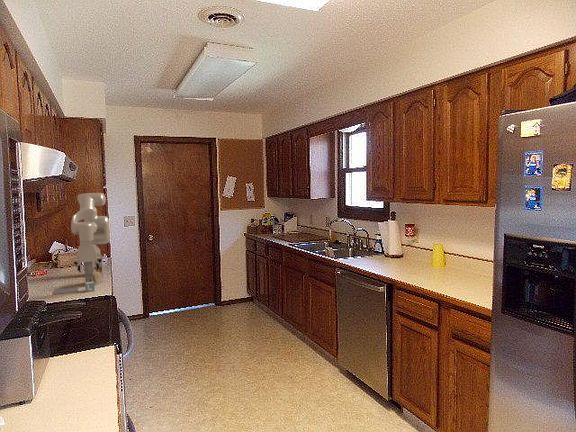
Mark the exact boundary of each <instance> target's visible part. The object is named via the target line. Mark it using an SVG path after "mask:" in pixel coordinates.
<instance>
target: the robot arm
mask: <svg viewBox="0 0 576 432" xmlns="http://www.w3.org/2000/svg"><path fill="white" fill-rule="evenodd" d="M106 201H107V199H106V194H104V193H103V192H88V193H87V192H86V193H80V194H78V195H77V202H78V204H79V210H78V211H77V212H75V213H74V214H73V216H72V218H71V225H70V229H71V230H70V231H71V232H72V234H73V235H79V238H78V239H79V245H78V248H77V249H78V250H77V251H78V252H77V256H75V257H73V258H71V261H72V262H73V264H74V265H76V266H77V271H78V273H81V264H82V263H84V262H92V261H95V262H96V263H97V264H96V266H97V270H98V269H99V263H100V262H102V261H103V259H104V255H102V254H101V249H100V248H99V246H97V245H103V244H104V245H105V244H109V243H110V242H111V230H110V228H111V227H110V221H109V217H108V216H106V215H98V210H97V208H96V207H95V206H104V205H105V204H106ZM97 258H100V260H99V261H98V260H97ZM76 260H78V262H77V261H76ZM102 275H105V271H103V270H102Z"/></svg>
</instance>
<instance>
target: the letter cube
mask: <svg viewBox="0 0 576 432" xmlns="http://www.w3.org/2000/svg"><path fill="white" fill-rule="evenodd" d="M84 287H85V289H84V290H85V291H84V292H85V293H90V292H94V291H95V289H96V288H95V285H94V281H93V282H84Z"/></svg>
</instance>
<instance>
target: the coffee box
mask: <svg viewBox="0 0 576 432" xmlns="http://www.w3.org/2000/svg"><path fill="white" fill-rule="evenodd" d="M97 260H98V261H99V260H100V258H97ZM96 264H97V263H96V262H95V261H92V262H83V269H84V281H85V282H93V281H94V286H95V285H98V284H101V283H103V282H104V277H103V275H104V274H103V275H102V271H103V265H102V261H101V262H100V263H99V269H98V270H97V266H96ZM85 282H84V283H85Z"/></svg>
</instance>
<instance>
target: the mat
mask: <svg viewBox="0 0 576 432" xmlns="http://www.w3.org/2000/svg"><path fill="white" fill-rule="evenodd" d="M77 292H79V286H78V285H77V286H70V287H63V288H55V289H54V290H53V294H52V295H53V296H57V295H61V294H62V295H63V294H71V293H77Z"/></svg>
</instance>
